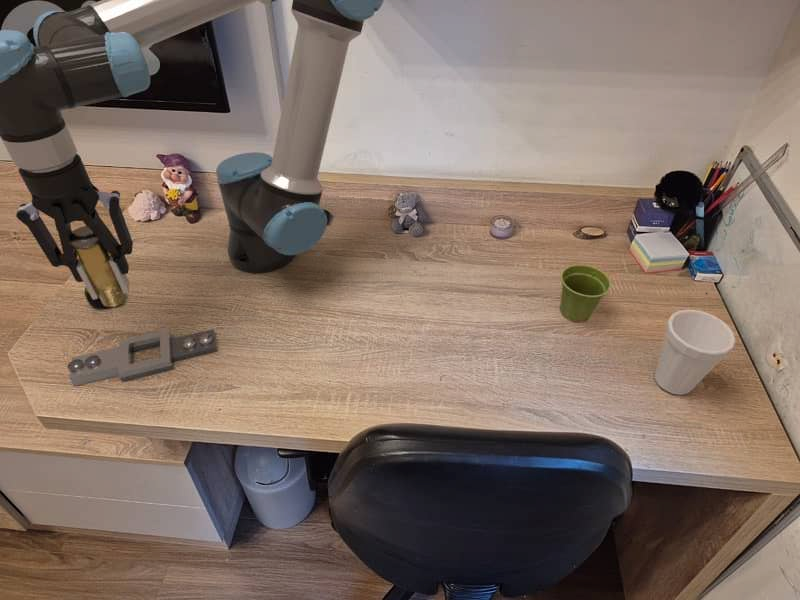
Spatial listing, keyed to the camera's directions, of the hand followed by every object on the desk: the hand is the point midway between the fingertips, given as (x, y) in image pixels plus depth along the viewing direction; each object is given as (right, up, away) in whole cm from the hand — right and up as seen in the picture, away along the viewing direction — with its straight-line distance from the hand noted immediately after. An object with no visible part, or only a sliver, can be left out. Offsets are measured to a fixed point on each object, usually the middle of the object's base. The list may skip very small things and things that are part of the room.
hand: (111, 290), depth 86 cm
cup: (+96, -16, +7) cm, 97 cm away
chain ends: (+1, -12, +10) cm, 16 cm away
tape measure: (-12, -1, +22) cm, 26 cm away
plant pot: (+83, -4, +20) cm, 85 cm away
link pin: (0, -1, +1) cm, 2 cm away
